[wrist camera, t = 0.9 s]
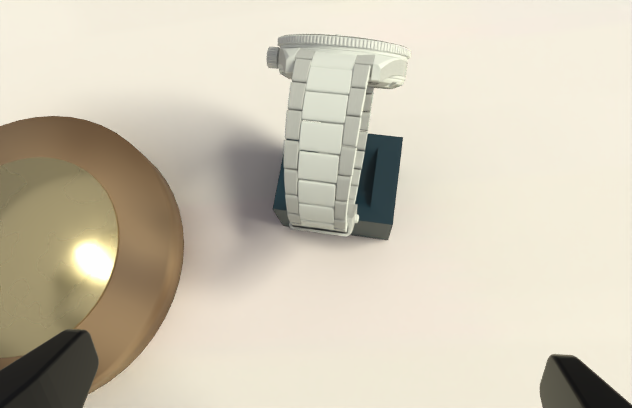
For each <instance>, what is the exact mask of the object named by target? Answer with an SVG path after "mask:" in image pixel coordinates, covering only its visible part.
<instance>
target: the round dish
mask: <svg viewBox="0 0 632 408" xmlns="http://www.w3.org/2000/svg"><path fill="white" fill-rule="evenodd" d="M183 250H184V239H183V226H182V221H181V216H180V212H179V208H178V205H177V203H176V200H175V197H174V194H173V192H172V191H171V189H170V187H169V185H168V183H167V181H166V180H165V178H164V177H163V176H162V174H161V173H160V172H159V170H158V169H157V168H156V167H155V166H154V165H153V164H152V163H151V162H150V161H149V160H148V159H147V158H146V157H145V156H144V155H143V154H142V153H140V152H139V151H138V150H137V149H136V148H135V147H134V146H133V145H131V144H130V143H129V142H128V141H127V140H125V139H124V138H122V137H121V136H120V135H118V134H117V133H115V132H113V131H111V130H109V129H107V128H105V127H103V126H102V125H99V124H96V123H93V122H90V121H87V120H82V119H77V118H72V117H59V116H48V117H35V118H29V119H24V120H19V121H16V122H12V123H9V124H6V125H3V126H0V370H1V369H3V368H5V367H6V366H8V365H9V364H11V363H13V362H14V361H16V360H17V359H19V358H21V357H22V356H24V355H25V354H27V353H29V352H30V351H32V350H33V349H35V348H37V347H38V346H40V345H41V344H43V343H45V342H46V341H48V340H49V339H51V338H52V337H54V336H56V335H57V334H59V333H60V332H62V331H64V330H66V329H84V330H87V331H88V332H89V333H90V335H91V338H92V341H93V343H94V346H95V349H96V352H97V355H98V358H99V365H98V370H97V373H96V375H95V378H94V380H93V383H92V385H91V388H90V390H89V393H91V392H93V391H95V390H96V389H98V388H100V387H101V386H103V385H104V384H106V383H108V382H109V381H111V380H112V379H113V378H114V377H116V376H117V375H118V374H119V373H121V372H122V371H123V370H124V369H126V368H127V367H128V366H129V365H130V364H131V363H132V362H133V361H134V360H135V359H136V358H137V357H138V356H139V355H140V353H141V352H142V351H143V350H144V349H145V347H146V346H147V345H148V343H149V342H150V341H151V340H152V338H153V337H154V336H155V334H156V332H157V331H158V329H159V327H160V326H161V324H162V322H163V321H164V319H165V317H166V315H167V313H168V310H169V308H170V306H171V304H172V302H173V299H174V296H175V293H176V290H177V287H178V283H179V280H180V274H181V269H182V264H183ZM89 393H88V394H89Z"/></svg>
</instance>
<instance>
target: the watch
mask: <svg viewBox="0 0 632 408" xmlns="http://www.w3.org/2000/svg"><path fill="white" fill-rule="evenodd" d="M278 46H280V48H279V47H269V48H268V51H267V66H268V67H269V68H277V69H278V68H279V72H280V74H282V75H283V76H285V77H287V78H288V79H292V82H291V85H290V92H289V100H288V110H287V114H286V127H285V139H286V140H284V154H283V159H282V164H281V170H280V175H279V180H278V185H277V190H276V195H275V200H274V205H273V210H274V212H275V213H276V215H277V217H278V218H279V220H280V221H281V223H282V225H283V226H289V227H290V228H291V229H294V230H301V231H309V232H316V233H323V234H330V235H337V236H345V237H348V236H349V235H355V236H362V237H369V238H377V239H384V240H388V238H389V235H390V232H391V228H392V225H393V217H394V208H395V200H396V191H397V183H398V175H399V166H400V158H401V149H402V141H403V137H394V136H385V135H376V134H368V132H366V131H368V126H369V120H370V114H371V112H369V111H371V105H372V99H373V90H374V88H383V89H393V88H396V87H399V86H402V84H403V83H404V81H405V77H406V71H407V64H408V62H407V59H409V58H410V57H411V50H410V49H408V48H406V47H404V46H401V45H397V44H392V43H388V42H383V41H378V40H372V39H366V38H358V37H350V36H341V35H324V34H295V35H285V36H281V37H279V38H278ZM303 120H307V121H303ZM311 121H317V122H311ZM320 122H321V123H320ZM360 130H363V131H360Z"/></svg>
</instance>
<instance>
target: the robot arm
mask: <svg viewBox="0 0 632 408" xmlns="http://www.w3.org/2000/svg"><path fill="white" fill-rule="evenodd" d="M98 365H99V358H98V355H97V352H96V349H95V346H94V343H93V341H92V338H91V335H90V333H89V332H88V331H87V330H84V329H66V330H64V331H62V332H60V333H59V334H57V335H56V336H54V337H52V338H51V339H49V340H48V341H46V342H45V343H43V344H41V345H40V346H38V347H37V348H35V349H33V350H32V351H30V352H29V353H27V354H25V355H24V356H22V357H21V358H19V359H17V360H16V361H14V362H13V363H11V364H9V365H8V366H6V367H5V368H3V369H1V370H0V408H83V405H84V403H85V400H86V398H87V395H88V393H89V390H90V388H91V385H92V383H93V380H94V378H95V375H96V373H97V370H98ZM540 397H541V402H542V406H543V408H632V405H631V404H630V403H629V402H628V401H627V400H626V399H624V398H623V397H622V396H621V395H620V394H619V393H618V392H616V391H615V390H614V389H613V388H612V387H611V386H609V385H608V384H607V383H606V382H605V381H604V380H603V379H601V378H600V377H599V376H598V375H597V374H596V373H594V372H593V371H592V370H591V369H590V368H589V367H588V366H586V365H585V364H584V363H583V362H582V361H581V360H579V359H578V358H577V357H575V356H573V355H560V354H553V355H550V356H549V358H548V360H547V363H546V366H545V370H544V373H543V376H542V380H541V383H540Z"/></svg>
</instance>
